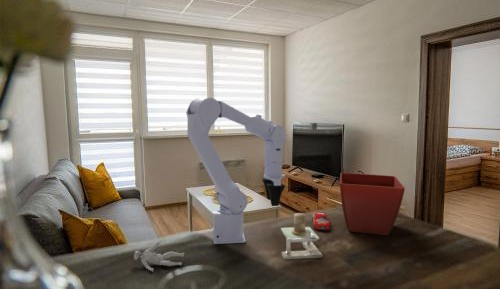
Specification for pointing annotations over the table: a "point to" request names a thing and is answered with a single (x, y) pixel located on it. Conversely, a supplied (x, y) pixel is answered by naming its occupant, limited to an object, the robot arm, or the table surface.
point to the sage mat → (289, 235)
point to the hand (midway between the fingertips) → (272, 202)
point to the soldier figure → (156, 257)
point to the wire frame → (307, 244)
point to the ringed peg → (299, 224)
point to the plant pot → (370, 202)
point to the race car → (320, 221)
